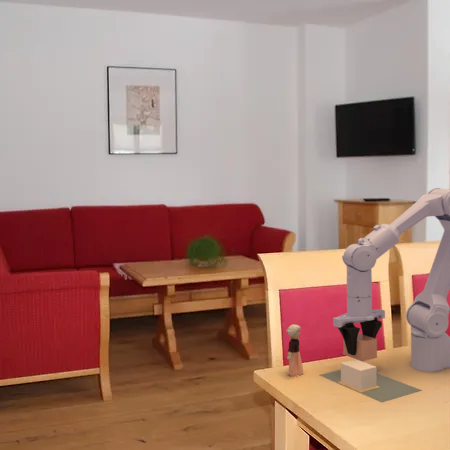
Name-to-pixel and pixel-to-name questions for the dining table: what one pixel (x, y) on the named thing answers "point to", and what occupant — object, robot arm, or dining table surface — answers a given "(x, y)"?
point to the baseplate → (378, 387)
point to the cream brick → (358, 375)
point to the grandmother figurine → (294, 351)
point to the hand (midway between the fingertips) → (359, 352)
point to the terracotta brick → (363, 348)
